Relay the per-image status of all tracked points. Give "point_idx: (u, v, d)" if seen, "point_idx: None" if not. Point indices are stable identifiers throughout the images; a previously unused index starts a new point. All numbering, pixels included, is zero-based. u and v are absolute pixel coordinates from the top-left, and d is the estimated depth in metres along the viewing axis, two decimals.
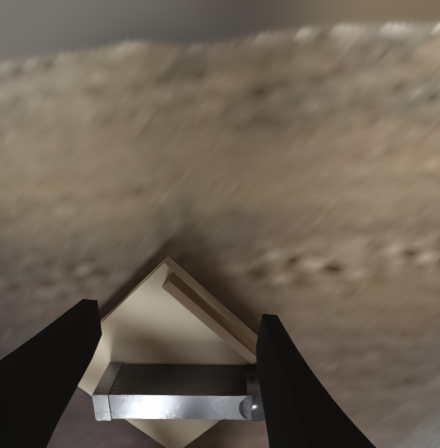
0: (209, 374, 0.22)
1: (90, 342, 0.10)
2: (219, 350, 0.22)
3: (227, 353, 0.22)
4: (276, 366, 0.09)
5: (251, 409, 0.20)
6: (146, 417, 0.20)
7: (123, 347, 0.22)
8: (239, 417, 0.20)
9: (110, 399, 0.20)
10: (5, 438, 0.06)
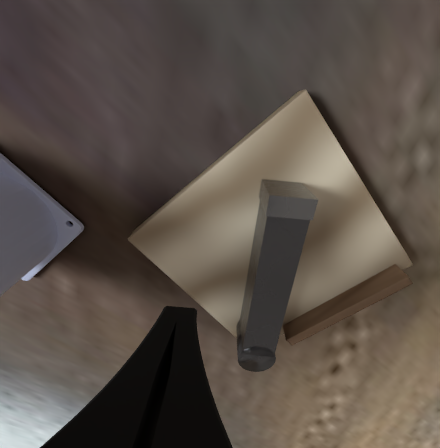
0: None
1: None
2: (289, 301, 0.21)
3: None
4: None
5: (255, 355, 0.19)
6: (259, 256, 0.15)
7: (318, 204, 0.17)
8: (245, 345, 0.18)
9: (302, 221, 0.14)
10: None
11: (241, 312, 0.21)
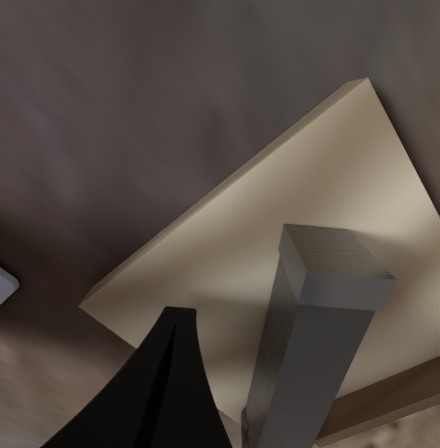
0: None
1: None
2: None
3: None
4: None
5: None
6: (282, 359, 0.09)
7: None
8: None
9: (362, 311, 0.08)
10: None
11: (248, 399, 0.14)
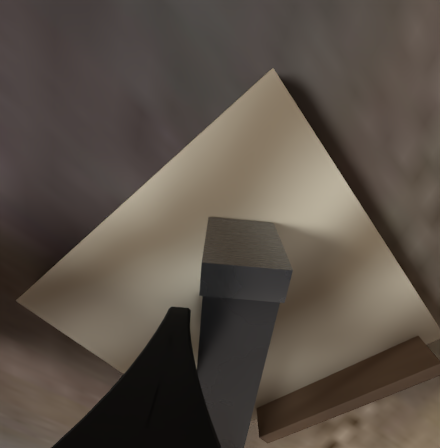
0: None
1: None
2: (264, 380, 0.14)
3: None
4: None
5: None
6: (198, 352, 0.09)
7: (302, 254, 0.11)
8: None
9: (266, 303, 0.08)
10: None
11: None
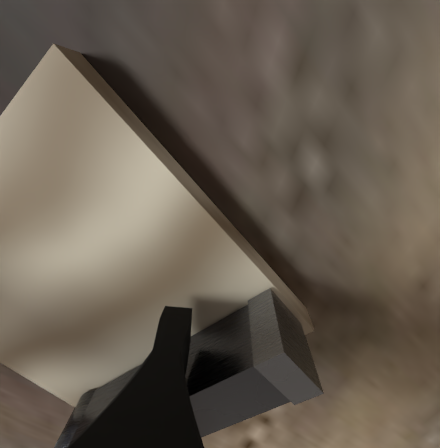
0: None
1: (188, 350, 0.10)
2: None
3: None
4: None
5: None
6: (194, 391, 0.10)
7: (142, 241, 0.10)
8: None
9: (283, 397, 0.09)
10: None
11: (105, 387, 0.14)
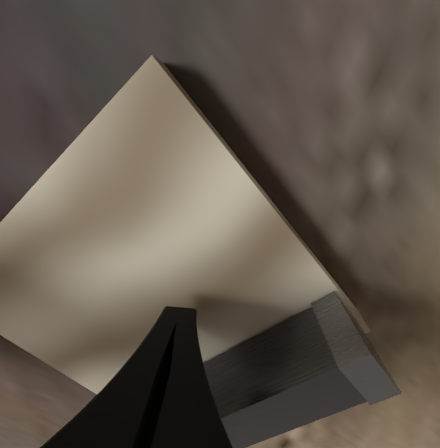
0: None
1: None
2: None
3: None
4: None
5: None
6: (272, 393, 0.10)
7: (213, 246, 0.11)
8: None
9: (359, 397, 0.10)
10: None
11: None
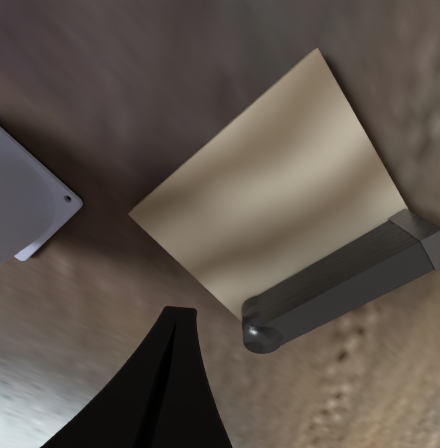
0: None
1: None
2: None
3: None
4: None
5: (266, 336, 0.18)
6: (372, 265, 0.15)
7: (329, 175, 0.16)
8: (270, 323, 0.17)
9: (429, 266, 0.15)
10: None
11: (268, 291, 0.20)
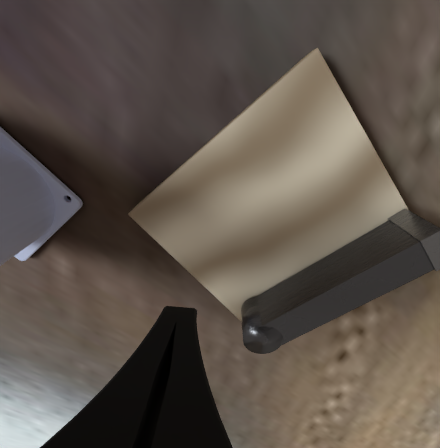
0: None
1: None
2: None
3: None
4: None
5: (266, 336, 0.18)
6: (372, 265, 0.15)
7: (329, 175, 0.16)
8: (270, 323, 0.17)
9: (429, 266, 0.15)
10: None
11: (268, 291, 0.20)
